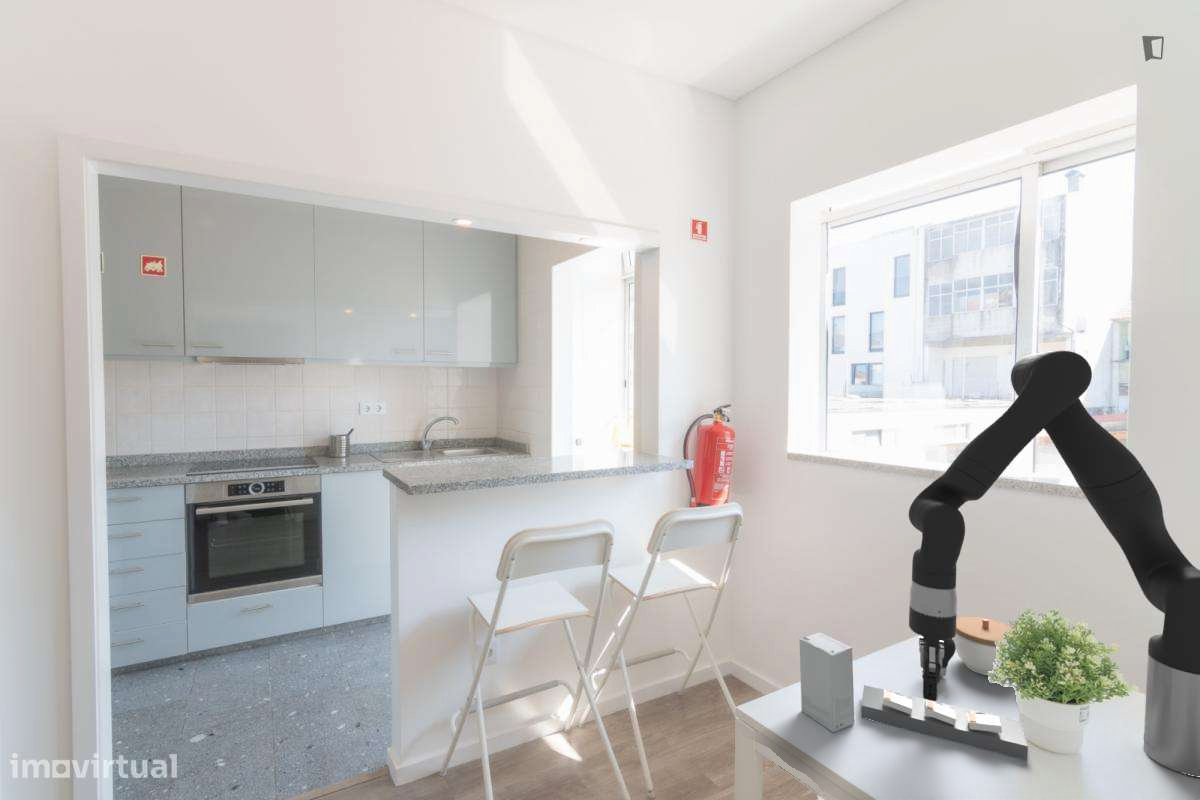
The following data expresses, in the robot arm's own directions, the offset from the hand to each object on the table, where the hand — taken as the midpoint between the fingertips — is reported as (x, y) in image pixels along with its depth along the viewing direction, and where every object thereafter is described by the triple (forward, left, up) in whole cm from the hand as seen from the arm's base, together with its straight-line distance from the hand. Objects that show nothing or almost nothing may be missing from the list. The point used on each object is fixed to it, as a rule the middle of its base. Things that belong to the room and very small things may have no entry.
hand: (929, 698), depth 107 cm
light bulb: (-3, -22, -6) cm, 23 cm away
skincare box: (+17, +5, -6) cm, 19 cm away
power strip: (-2, -2, -6) cm, 7 cm away
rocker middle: (-2, 0, -3) cm, 3 cm away
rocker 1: (+5, 0, -3) cm, 6 cm away
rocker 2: (-9, 0, -3) cm, 9 cm away
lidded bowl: (-12, -31, -6) cm, 34 cm away
